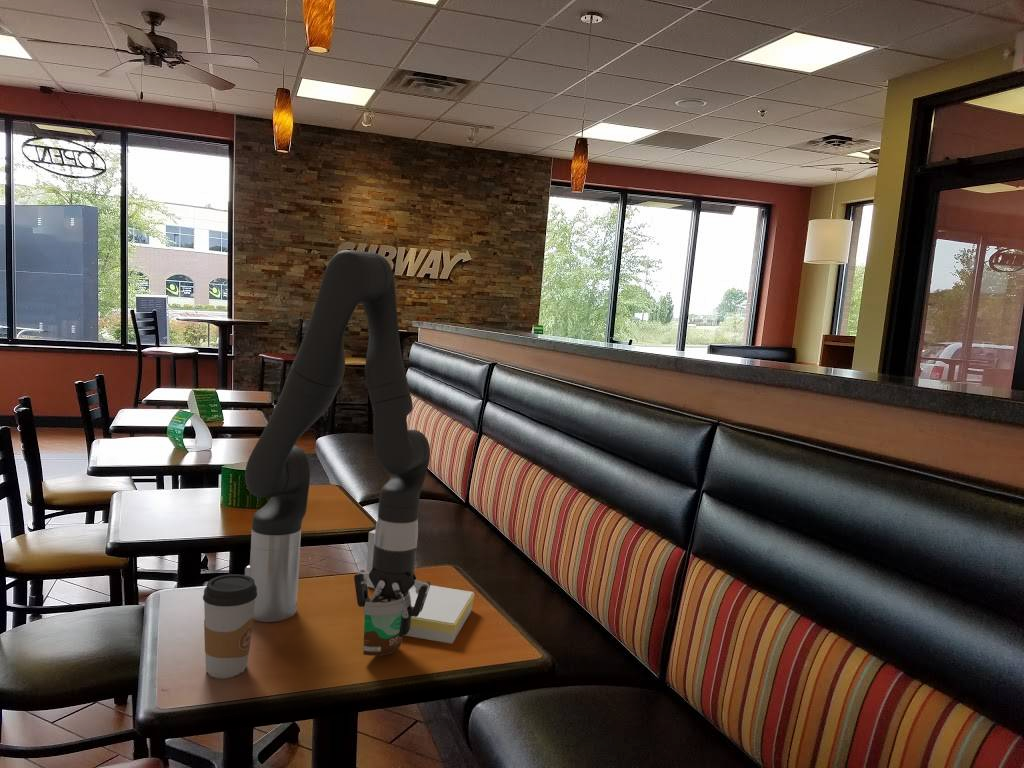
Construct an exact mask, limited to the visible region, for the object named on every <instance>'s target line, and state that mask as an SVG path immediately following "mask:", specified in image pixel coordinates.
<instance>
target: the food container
mask: <svg viewBox="0 0 1024 768" xmlns="http://www.w3.org/2000/svg"><path fill="white" fill-rule="evenodd" d="M408 593H409V594H410V592H409V591H408ZM408 593H407V595H406V596H405V597H404V596H403V598H404V600H405V601H404V602H403V600H402V598H401V599H399V600H396V599H392V598H390V597H381V595H380V597H379V598H374V599H373V600H372V601H371V602H365V606H364V607H363V613H362V615H364V621H363V623H364V625H363V626H364V627H363V651H362V653H363V655H364V656H384V655H388V654H391V653H394V652H396V651H397V650H399V649H400V647H401V646H402V640H403V637H399V632H400V626H401V619H402V618H403V616H402V611H403V610H405V609H406V607H407V608H408V607H409V606H410V604H411V603H410V601H411V599H410V595H409V596H408ZM404 603H405V605H404Z"/></svg>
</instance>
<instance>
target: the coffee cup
mask: <svg viewBox="0 0 1024 768" xmlns="http://www.w3.org/2000/svg"><path fill="white" fill-rule="evenodd" d="M256 597H257V587H256V585H255V581H254V579H253V578H251V577H249V576H246V575H245V574H240V573H239V574H238V573H236V574H234V573H233V574H223V575H219V576H215V577H213V578H211V579H209V580H208V581H207V583H206V587H204V589H203V596H202V600H203V604H204V607H203V608H204V609H203V611H204V620H203V626H204V629H203V630H204V633H203V634H204V653H205V670H206V672H207V674H208V675H209V676H210V677H212V678H214V677H215V679H230V678H229V677H231V678H234V677H233V676H235V675H237V674H239V673H241V672H242V671H243V670H244V669H245V670H246V668H247V667H248V663H249V662H248V660H249V652H250V648H251V642H252V641H251V640H252V633H253V625H254V620H253V619H254V618H253V615H254V607H255V599H256ZM245 670H244V671H245ZM244 671H243V672H244ZM243 672H242V673H243ZM242 673H241V674H242ZM239 675H240V674H239ZM237 676H238V675H237ZM235 677H236V676H235Z"/></svg>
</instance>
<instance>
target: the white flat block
mask: <svg viewBox="0 0 1024 768" xmlns="http://www.w3.org/2000/svg"><path fill="white" fill-rule="evenodd" d="M409 592H410V598H411V605H412V607H414V605H415V602H416V599H417V596H418V594H417V593H416V588H415V587H414V586H412V587H411V588H410V590H409ZM474 600H475V592H473V591H470V590H463V589H462V590H461V589H455V588H451V587H443V586H437V585H432V584H430V588H429V591H428V594H427V597H426V600H425V603H424V606H423V609H422V611H421V612H420V613H419V615H418V616H417V617H414V616H411V623H410V630H409V632H408V633H407V634H406V635H405V636H406V637H411V638H416V639H422V640H423V639H424V640H429V641H433V642H434V641H436V642H440V643H445V644H451V645H452V644H453V643H454V641H455V639H456V638H457V636H458V634H459V633H460V631H461V629H462V627H464V625H465V622H466V620H467V619H468V617H469V615H470V614H471V612H472V611H471V610H472V609H473V603H474ZM405 636H404V637H405Z"/></svg>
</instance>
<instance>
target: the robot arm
mask: <svg viewBox="0 0 1024 768" xmlns="http://www.w3.org/2000/svg"><path fill="white" fill-rule="evenodd" d="M395 282H396V281H395V276H394V273H393V269H392V266H391V264H390V262H389V261H388V260H387V258H385V256H383V255H380V254H378V253H374V252H368V251H360V250H352V249H351V250H350V249H345V250H344V249H343V250H340V251H339V252H337V253H336V254H335V255H333V256H332V257H331V258H330V260H329V262H328V264H327V265H326V268H325V270H324V272H323V276H322V279H321V283H320V286H319V288H318V289H319V290H318V293H317V297H316V300H315V304H314V306H313V310H312V314H311V317H310V320H309V322H308V324H307V328H306V330H305V333H304V335H303V338H302V340H301V343H300V346H299V348H298V351H297V353H296V355H295V357H294V359H293V362H292V364H291V366H290V369H289V372H288V374H287V377H286V379H285V381H284V384H283V387H282V391H281V392H280V395H279V397H278V399H277V402H276V403H275V406H274V409H273V411H272V413H271V415H270V418H269V420H268V422H267V424H266V425H265V428H264V429H263V431H262V433H261V435H260V437H259V439H258V440H257V442H256V444H255V446H254V447H253V449H252V451H251V453H250V455H249V458H248V460H247V463H246V466H245V471H244V481H245V486H246V488H247V490H248V492H249V493H250V494H251V495H252V496H254V497H257V498H262V499H263V498H265V499H266V498H269V500H267V501H268V502H267V503H265V504H264V505H263V506H262V507H260V509H257V511H255V513H254V514H253V515H252V519H251V520H252V522H251V538H250V555H249V556H250V557H249V564H248V565H246V566H245V568H244V575H246V576H249V577H251V578H253V579H254V581H255V585H256V587H257V597H256V599H255V607H254V615H253V618H254V619H253V621H256V622H262V623H263V622H264V623H271V622H272V623H275V622H281V621H284V620H285V621H286V620H288V619H290V618H292V617H294V616H295V614H296V613H297V605H298V604H297V603H298V588H299V573H300V572H299V571H300V556H301V555H300V554H301V540H302V539H301V537H302V525H303V524H302V523H303V519H304V517H305V515H306V513H307V507H308V500H309V491H310V481H311V465H310V461H309V457H308V455H307V454H306V452H305V451H304V450H303V449H302V448H301V447H299V446H296V443H297V442H298V440H299V439H300V438H301V436H302V435H303V434H305V432H306V431H307V430H308V429H309V428H311V427H312V426H313V424H315V423H316V421H318V420H319V419H320V418H321V417H322V416H323V415H324V413H326V412H327V410H328V409H329V408H330V406H331V405H332V403H333V401H334V399H335V398H336V395H337V393H338V390H339V388H340V385H341V383H342V381H343V378H344V375H345V370H346V357H345V346H344V340H345V339H344V337H345V336H344V335H345V332H346V330H347V327H348V324H349V322H350V319H351V317H352V315H353V313H354V311H355V310H356V307H357V306H358V305H361V306H362V309H363V310H364V312H365V316H366V319H367V325H368V326H367V327H368V344H367V351H366V358H365V367H364V369H365V370H364V372H365V373H364V374H365V382H366V386H367V392H368V396H369V400H370V404H371V408H372V411H373V449H374V453H375V457H376V460H377V463H378V464H379V466H380V467H381V468H382V470H384V471H385V472H386V473H388V474H390V477H389V480H388V481H387V482H386V483H385V484H384V485H382V488H381V490H380V493H379V498H378V499H379V500H378V511H377V520H376V525H375V529H374V530H375V539H374V551H373V563H372V570H371V571H370V572H366V570H364V569H361V570H358V572H357V573H356V574H355V575H354V576H353V580H354V588H355V596H356V601H357V605H358V607H360V608H364V606H365V602H371V601H372V600H373V599H374V598H379V597H380V595H381V597H390V598H392V599H396V600H399V599H401V598H402V600H403V602H404V601H405V600H404V598H403V596H404V597H405V596H406V595H407V593H408V591H409V590H410V588H411V587H412V586H414V587H415V588H416V593H417V594H418V596H417V599H416V602H415V605H414V607H412V605H411V604H410V606H409V607H408V608H407V607H406V609H405V610H403V611H402V616H403V618H402V619H401V626H400V632H399V637H402V638H404V637H405V635H406V634H407V633H408V632H409V630H410V623H411V616H414V617H417V616H418V615H419V613H420V612H421V611H422V609H423V606H424V603H425V600H426V597H427V594H428V591H429V588H430V585H431V582H430V581H428V580H427V581H421V580H419V579H417V577H416V573H415V567H416V557H417V555H416V554H417V548H418V546H417V545H418V542H419V537H418V536H419V525H418V522H419V519H418V517H419V509H420V495H421V491H422V488H423V485H424V483H425V479H426V475H427V472H428V467H429V463H430V458H431V448H430V443H429V440H428V438H427V437H426V435H425V434H424V433H423V432H422V431H420V430H417V429H408V419H407V418H408V416H409V415H410V414H411V412H412V411H413V407H414V405H413V404H414V403H413V400H412V396H411V391H410V387H409V382H408V378H407V373H406V371H405V365H404V360H403V356H402V349H401V348H402V347H401V340H400V331H399V330H400V329H399V317H398V309H397V294H396V293H397V291H396V283H395ZM369 578H370V580H371V582H372V584H373V586H374V587H375V590H374V591H373V594H372V596H370V597H369V591H368V587H367V583H368V581H369ZM409 595H410V594H409V593H408V596H409ZM410 599H411V598H410ZM410 603H411V601H410ZM404 605H405V603H404Z"/></svg>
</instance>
